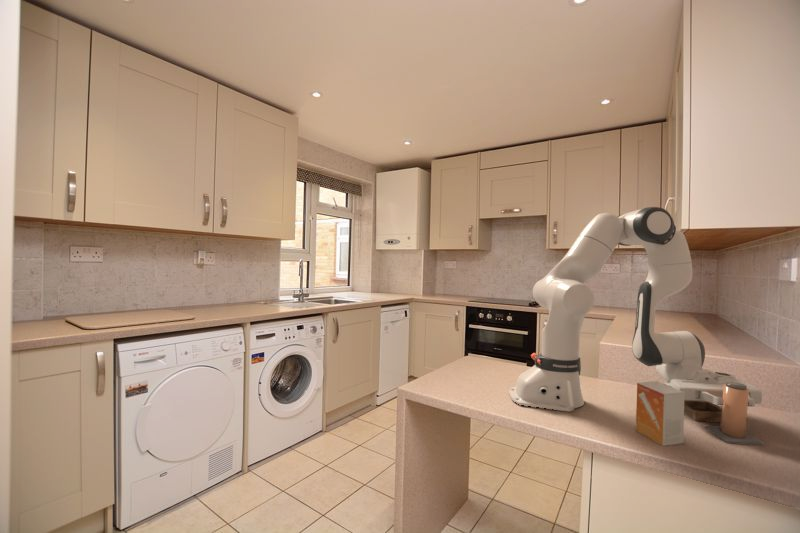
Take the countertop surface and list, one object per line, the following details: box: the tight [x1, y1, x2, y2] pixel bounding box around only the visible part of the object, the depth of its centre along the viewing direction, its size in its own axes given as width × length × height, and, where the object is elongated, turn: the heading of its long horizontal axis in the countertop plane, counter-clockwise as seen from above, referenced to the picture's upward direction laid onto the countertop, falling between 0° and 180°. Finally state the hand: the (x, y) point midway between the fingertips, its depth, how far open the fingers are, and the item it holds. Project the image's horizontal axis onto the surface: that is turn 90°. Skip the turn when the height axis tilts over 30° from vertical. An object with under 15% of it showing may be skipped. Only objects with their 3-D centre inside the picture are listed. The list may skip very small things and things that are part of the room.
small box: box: [635, 380, 685, 447], centre depth 93 cm, size 8×6×13 cm
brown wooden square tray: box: [684, 400, 722, 423], centre depth 107 cm, size 9×9×2 cm
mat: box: [704, 425, 764, 446], centre depth 94 cm, size 8×8×1 cm
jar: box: [720, 381, 749, 438], centre depth 94 cm, size 5×5×13 cm
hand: (736, 402), depth 93 cm, fingers open, 6 cm apart
